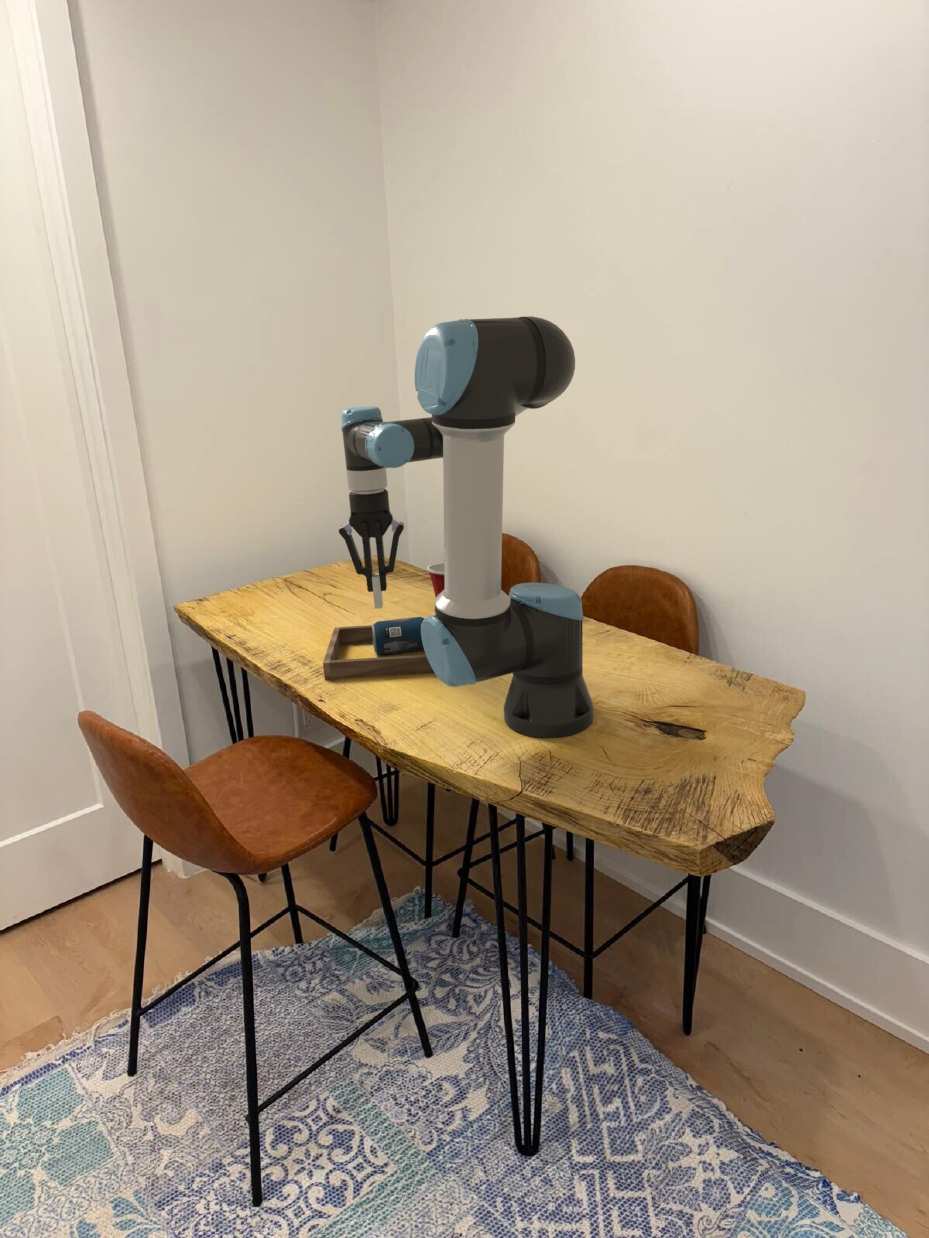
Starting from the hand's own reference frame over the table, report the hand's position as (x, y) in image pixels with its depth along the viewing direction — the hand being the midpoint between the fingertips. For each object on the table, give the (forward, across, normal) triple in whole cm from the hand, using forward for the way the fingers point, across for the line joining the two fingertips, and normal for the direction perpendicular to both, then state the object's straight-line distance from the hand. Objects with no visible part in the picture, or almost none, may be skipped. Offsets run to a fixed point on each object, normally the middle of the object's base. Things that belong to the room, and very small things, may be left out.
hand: (378, 606), depth 168 cm
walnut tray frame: (+11, -1, 0) cm, 11 cm away
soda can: (+8, +2, -2) cm, 8 cm away
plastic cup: (+11, -15, -23) cm, 30 cm away
